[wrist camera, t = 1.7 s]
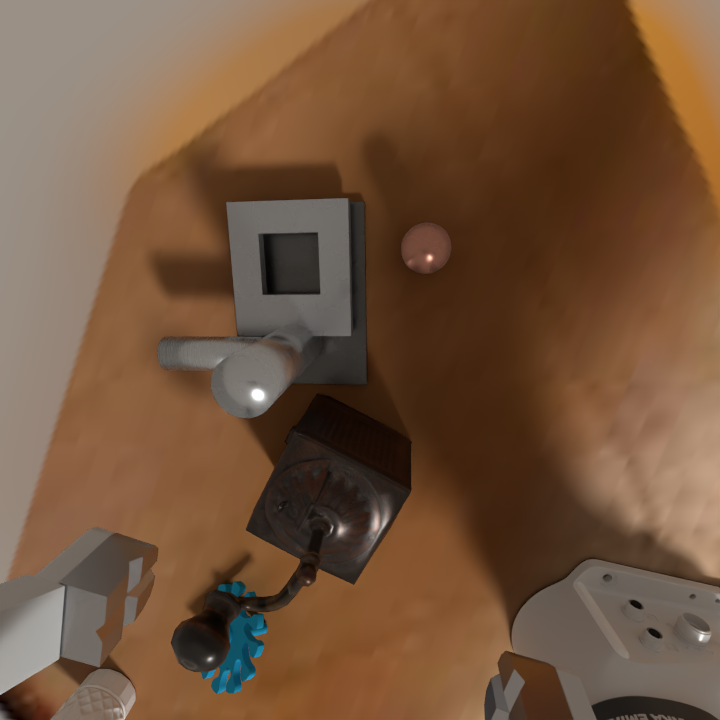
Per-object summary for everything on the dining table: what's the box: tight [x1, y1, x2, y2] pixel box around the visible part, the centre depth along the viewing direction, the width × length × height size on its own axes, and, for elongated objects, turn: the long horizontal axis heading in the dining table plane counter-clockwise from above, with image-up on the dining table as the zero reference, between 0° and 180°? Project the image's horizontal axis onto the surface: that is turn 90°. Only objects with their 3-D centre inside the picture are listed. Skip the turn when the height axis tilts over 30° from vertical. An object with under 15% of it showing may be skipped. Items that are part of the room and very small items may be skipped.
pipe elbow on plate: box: [158, 198, 367, 418], centre depth 32 cm, size 16×16×15 cm
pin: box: [401, 222, 451, 274], centre depth 33 cm, size 3×3×8 cm
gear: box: [201, 581, 267, 694], centre depth 46 cm, size 11×6×10 cm
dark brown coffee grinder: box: [171, 394, 412, 672], centre depth 34 cm, size 16×11×18 cm
